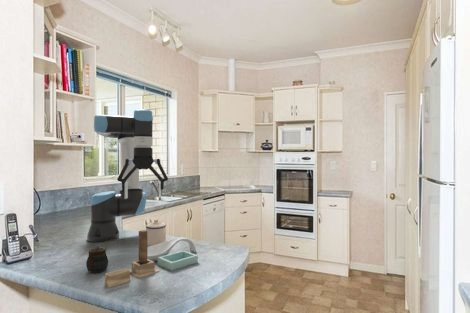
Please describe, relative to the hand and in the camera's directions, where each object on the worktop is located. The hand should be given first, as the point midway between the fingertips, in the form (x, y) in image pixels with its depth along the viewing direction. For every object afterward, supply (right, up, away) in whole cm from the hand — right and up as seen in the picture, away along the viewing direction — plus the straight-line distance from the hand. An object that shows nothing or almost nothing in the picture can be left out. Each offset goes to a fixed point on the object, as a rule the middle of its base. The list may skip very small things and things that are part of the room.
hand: (143, 197), depth 130 cm
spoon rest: (+11, -25, -1) cm, 27 cm away
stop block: (0, -24, -29) cm, 38 cm away
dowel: (+6, -23, -20) cm, 31 cm away
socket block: (+6, -24, -20) cm, 32 cm away
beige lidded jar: (0, -24, +17) cm, 29 cm away
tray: (+17, -24, -11) cm, 31 cm away
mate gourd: (-11, -24, -18) cm, 32 cm away
